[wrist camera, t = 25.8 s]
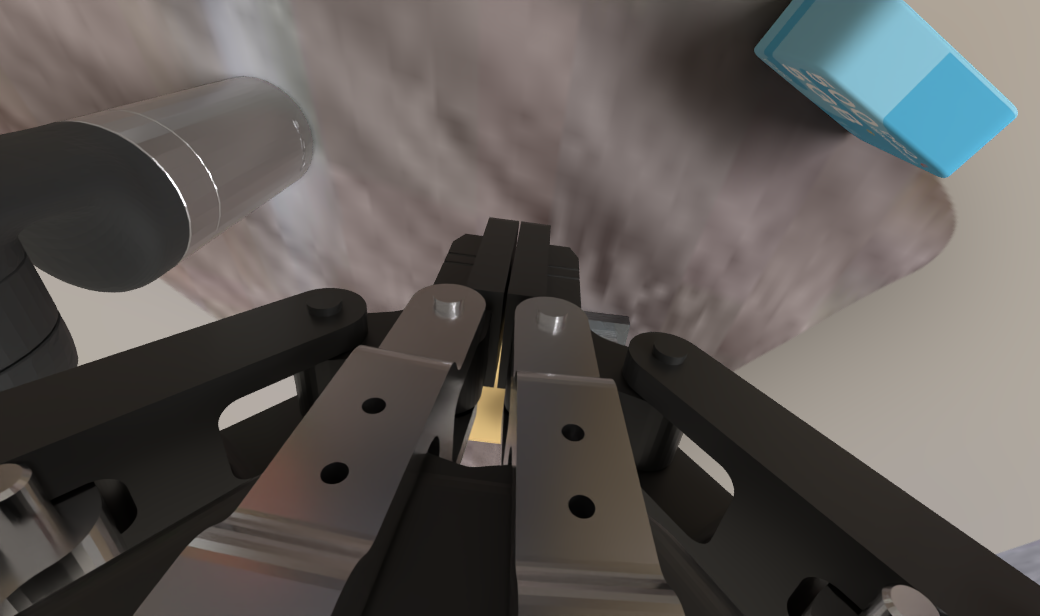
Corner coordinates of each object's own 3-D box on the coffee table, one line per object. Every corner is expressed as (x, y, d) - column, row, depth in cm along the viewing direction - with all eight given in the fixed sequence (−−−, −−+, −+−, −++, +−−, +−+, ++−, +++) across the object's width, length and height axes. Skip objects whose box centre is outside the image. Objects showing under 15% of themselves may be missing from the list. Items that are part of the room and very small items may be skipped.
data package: (746, 48, 37) (815, 67, 27) (794, -13, 35) (889, -16, 25) (856, 138, 40) (956, 186, 30) (906, 87, 38) (1033, 120, 28)
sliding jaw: (465, 417, 57) (460, 438, 54) (470, 315, 50) (465, 334, 47) (526, 424, 57) (524, 446, 54) (540, 323, 50) (539, 343, 47)
